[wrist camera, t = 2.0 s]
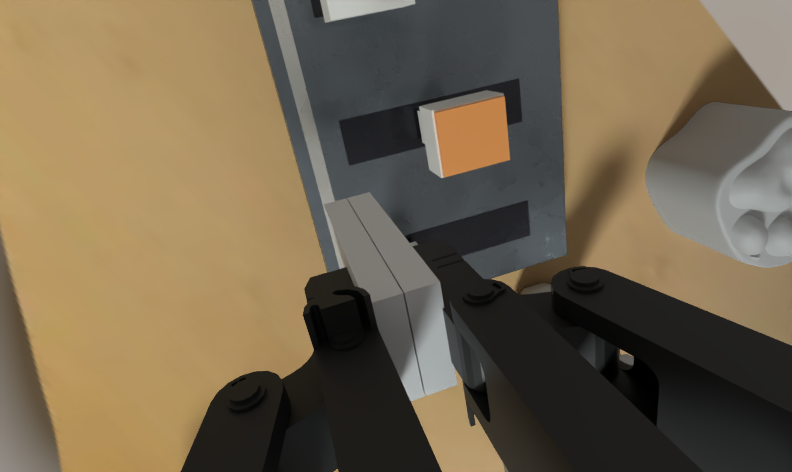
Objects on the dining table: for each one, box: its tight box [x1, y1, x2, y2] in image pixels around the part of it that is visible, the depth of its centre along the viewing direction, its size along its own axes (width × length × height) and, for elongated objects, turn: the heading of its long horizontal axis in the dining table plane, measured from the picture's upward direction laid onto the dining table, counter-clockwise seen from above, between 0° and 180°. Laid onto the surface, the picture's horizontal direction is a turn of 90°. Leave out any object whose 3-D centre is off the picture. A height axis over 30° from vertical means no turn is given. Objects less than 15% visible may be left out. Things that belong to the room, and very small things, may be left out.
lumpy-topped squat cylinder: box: [645, 102, 792, 268], centre depth 39 cm, size 10×13×9 cm
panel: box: [251, 0, 567, 279], centre depth 32 cm, size 18×25×4 cm
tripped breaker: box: [417, 90, 510, 178], centre depth 27 cm, size 4×4×6 cm
